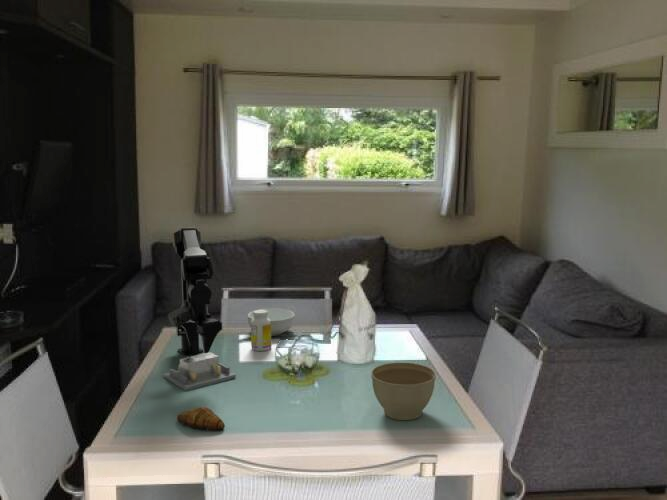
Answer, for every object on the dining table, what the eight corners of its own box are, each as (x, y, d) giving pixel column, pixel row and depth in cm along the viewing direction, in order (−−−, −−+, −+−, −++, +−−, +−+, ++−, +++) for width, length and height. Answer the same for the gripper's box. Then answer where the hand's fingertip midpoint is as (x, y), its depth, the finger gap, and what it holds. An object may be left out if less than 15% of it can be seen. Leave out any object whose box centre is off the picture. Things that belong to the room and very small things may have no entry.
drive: (180, 375, 191) (179, 359, 190) (210, 368, 197) (210, 352, 196) (188, 380, 187) (187, 363, 186) (219, 372, 193) (218, 356, 192)
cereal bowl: (242, 338, 231) (241, 318, 230) (255, 325, 247) (255, 307, 246) (288, 340, 228) (288, 321, 227) (299, 327, 244) (299, 309, 243)
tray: (164, 376, 192) (163, 365, 192) (212, 365, 202) (212, 354, 202) (185, 390, 182) (185, 378, 181) (235, 377, 192) (235, 366, 191)
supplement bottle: (273, 345, 222) (272, 309, 220) (269, 352, 216) (268, 314, 214) (253, 345, 223) (253, 308, 221) (249, 351, 216) (248, 313, 214)
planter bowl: (370, 401, 174) (370, 361, 173) (430, 401, 174) (431, 362, 172) (371, 426, 158) (372, 383, 157) (438, 427, 158) (439, 384, 156)
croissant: (232, 426, 160) (231, 406, 159) (215, 437, 154) (215, 417, 153) (187, 416, 165) (186, 397, 165) (169, 426, 159) (169, 407, 158)
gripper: (157, 295, 190) (159, 347, 193) (185, 307, 176) (188, 363, 178) (192, 290, 197) (193, 340, 200) (222, 301, 183) (224, 355, 185)
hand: (198, 349), depth 190 cm, fingers open, 9 cm apart
